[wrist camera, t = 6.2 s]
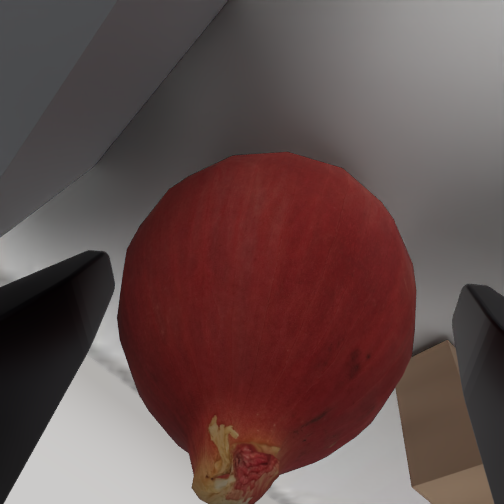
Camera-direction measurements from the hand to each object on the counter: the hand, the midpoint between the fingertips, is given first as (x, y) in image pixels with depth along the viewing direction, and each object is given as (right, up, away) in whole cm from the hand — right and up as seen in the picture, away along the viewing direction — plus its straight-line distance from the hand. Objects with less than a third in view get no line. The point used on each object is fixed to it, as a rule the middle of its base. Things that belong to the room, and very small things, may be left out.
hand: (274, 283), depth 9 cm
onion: (0, +2, +3) cm, 4 cm away
